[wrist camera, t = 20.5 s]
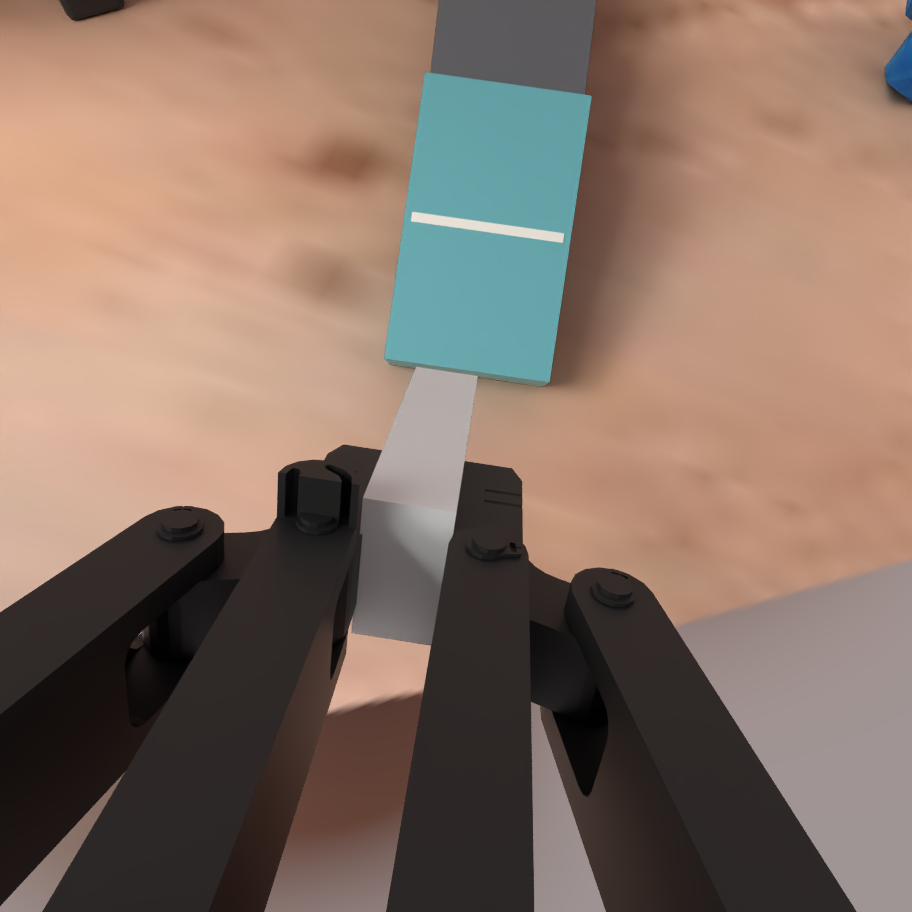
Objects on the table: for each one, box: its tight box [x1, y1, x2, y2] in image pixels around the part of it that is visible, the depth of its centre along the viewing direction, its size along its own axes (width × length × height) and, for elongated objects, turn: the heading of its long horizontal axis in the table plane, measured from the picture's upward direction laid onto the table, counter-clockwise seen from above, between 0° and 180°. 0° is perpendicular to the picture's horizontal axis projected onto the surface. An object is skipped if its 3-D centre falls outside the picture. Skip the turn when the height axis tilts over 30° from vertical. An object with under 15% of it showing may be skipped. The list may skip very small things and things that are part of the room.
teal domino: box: [384, 72, 592, 387], centre depth 31 cm, size 2×7×12 cm
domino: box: [431, 0, 596, 95], centre depth 34 cm, size 2×7×12 cm
